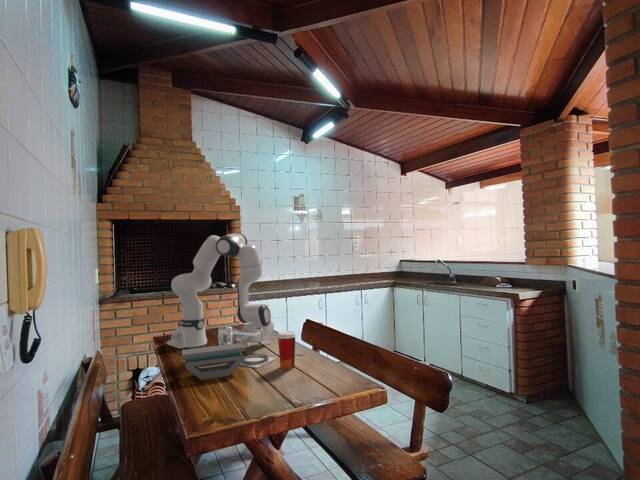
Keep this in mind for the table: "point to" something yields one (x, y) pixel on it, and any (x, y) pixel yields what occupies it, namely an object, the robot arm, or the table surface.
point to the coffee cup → (286, 349)
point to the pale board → (258, 360)
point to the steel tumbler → (225, 335)
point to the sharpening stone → (213, 360)
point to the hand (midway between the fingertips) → (231, 339)
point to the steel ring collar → (255, 361)
